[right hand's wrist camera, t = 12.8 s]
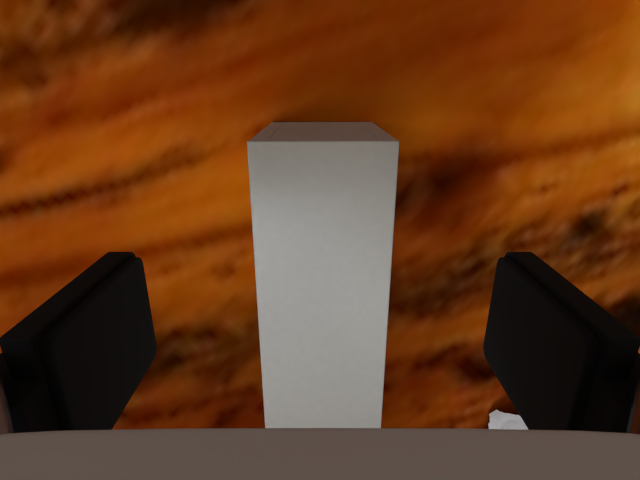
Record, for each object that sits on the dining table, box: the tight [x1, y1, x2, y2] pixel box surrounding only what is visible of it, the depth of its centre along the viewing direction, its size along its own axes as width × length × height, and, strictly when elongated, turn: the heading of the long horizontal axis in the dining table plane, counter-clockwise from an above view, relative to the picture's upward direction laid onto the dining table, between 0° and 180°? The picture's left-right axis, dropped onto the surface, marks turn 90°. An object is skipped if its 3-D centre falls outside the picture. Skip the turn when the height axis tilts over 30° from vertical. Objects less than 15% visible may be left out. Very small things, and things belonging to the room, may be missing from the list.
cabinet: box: [247, 122, 399, 428], centre depth 25 cm, size 16×6×9 cm, turn 0°
